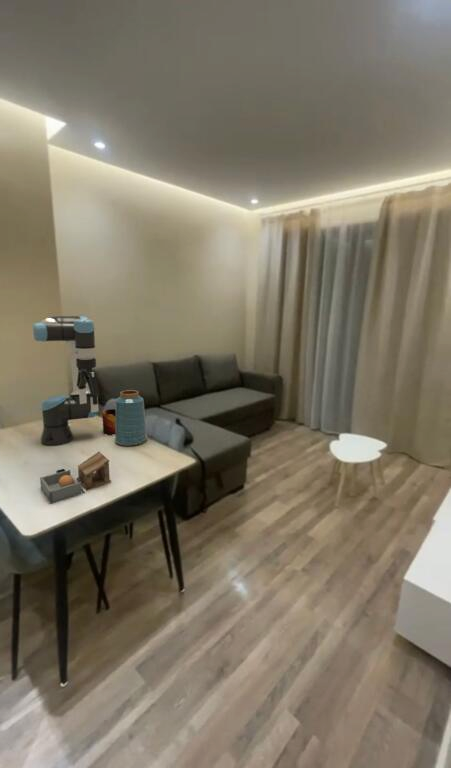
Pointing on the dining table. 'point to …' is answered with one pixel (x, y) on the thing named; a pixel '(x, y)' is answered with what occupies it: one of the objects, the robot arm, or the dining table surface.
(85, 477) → the wooden cubby
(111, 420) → the mug
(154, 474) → the dining table surface
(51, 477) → the bin
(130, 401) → the vase
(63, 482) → the ball
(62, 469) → the dark open box
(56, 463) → the dining table surface
